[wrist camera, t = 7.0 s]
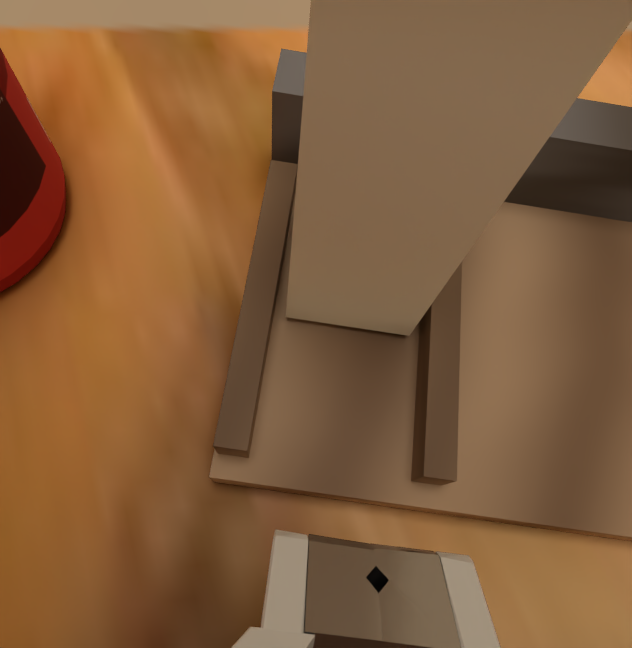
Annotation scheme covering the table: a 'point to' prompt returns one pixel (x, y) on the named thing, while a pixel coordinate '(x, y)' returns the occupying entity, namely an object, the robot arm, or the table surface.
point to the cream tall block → (423, 139)
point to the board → (455, 354)
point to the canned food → (25, 183)
